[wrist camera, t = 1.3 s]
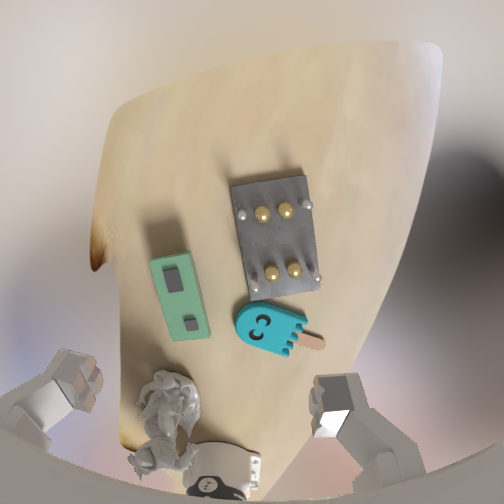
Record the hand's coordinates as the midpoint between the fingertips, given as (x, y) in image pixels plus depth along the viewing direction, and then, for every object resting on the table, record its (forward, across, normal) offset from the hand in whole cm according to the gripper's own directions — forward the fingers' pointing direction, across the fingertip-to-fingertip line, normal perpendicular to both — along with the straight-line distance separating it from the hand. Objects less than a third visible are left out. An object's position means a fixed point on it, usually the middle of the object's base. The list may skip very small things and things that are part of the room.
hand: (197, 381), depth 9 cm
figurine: (+24, -12, -37) cm, 45 cm away
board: (+25, -8, -14) cm, 30 cm away
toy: (+28, +6, -21) cm, 35 cm away
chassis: (+30, +5, -7) cm, 31 cm away
